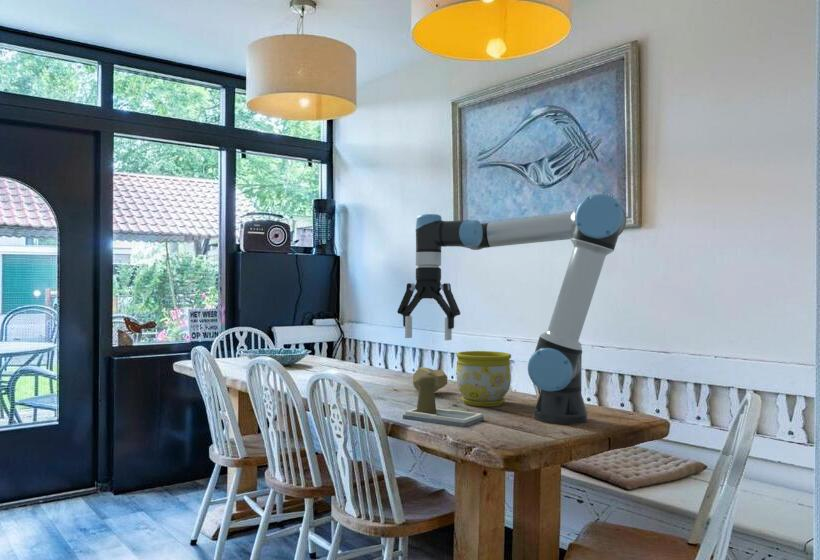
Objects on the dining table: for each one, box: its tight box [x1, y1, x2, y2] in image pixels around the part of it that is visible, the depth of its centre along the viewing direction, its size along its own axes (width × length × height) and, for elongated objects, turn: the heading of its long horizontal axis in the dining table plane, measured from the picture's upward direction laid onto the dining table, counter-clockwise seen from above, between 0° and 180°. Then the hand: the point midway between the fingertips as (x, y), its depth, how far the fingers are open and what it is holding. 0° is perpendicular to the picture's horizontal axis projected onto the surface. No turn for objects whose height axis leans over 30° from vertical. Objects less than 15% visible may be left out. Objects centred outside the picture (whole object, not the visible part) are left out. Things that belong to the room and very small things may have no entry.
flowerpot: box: [456, 350, 512, 408], centre depth 212 cm, size 18×18×16 cm
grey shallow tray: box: [402, 407, 484, 428], centre depth 185 cm, size 20×12×2 cm, turn 57°
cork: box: [416, 375, 437, 414], centre depth 188 cm, size 6×6×11 cm
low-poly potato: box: [412, 366, 448, 394], centre depth 229 cm, size 15×11×12 cm
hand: (427, 339), depth 189 cm, fingers open, 13 cm apart
